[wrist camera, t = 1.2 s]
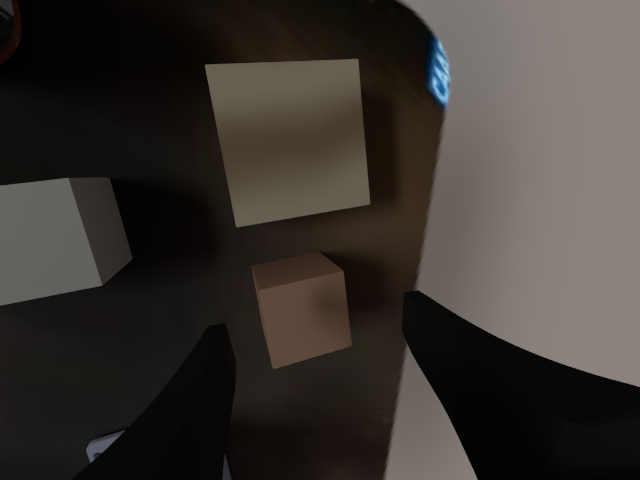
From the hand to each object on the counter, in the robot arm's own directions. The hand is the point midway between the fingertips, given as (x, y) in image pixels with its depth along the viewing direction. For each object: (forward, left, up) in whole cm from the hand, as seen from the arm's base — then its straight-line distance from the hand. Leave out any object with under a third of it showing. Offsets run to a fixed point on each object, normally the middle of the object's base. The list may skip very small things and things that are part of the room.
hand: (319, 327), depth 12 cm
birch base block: (+8, -2, -10) cm, 13 cm away
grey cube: (+5, +11, -10) cm, 16 cm away
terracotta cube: (-2, -1, -10) cm, 11 cm away
